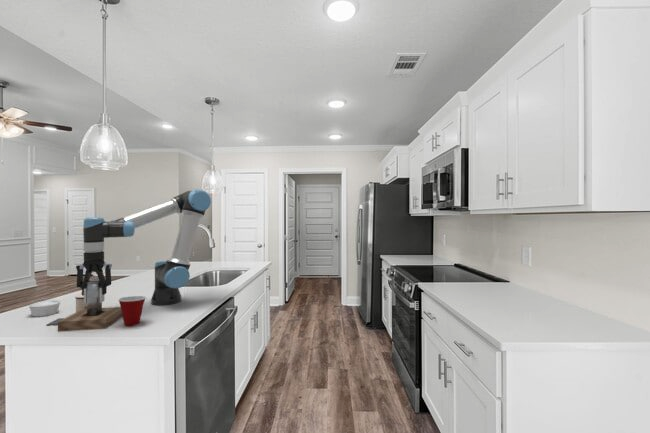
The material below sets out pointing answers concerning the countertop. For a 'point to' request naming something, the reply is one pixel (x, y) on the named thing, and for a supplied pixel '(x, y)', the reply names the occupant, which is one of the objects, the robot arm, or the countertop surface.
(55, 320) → the pad
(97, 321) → the frame
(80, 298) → the teacup with lid
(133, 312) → the plastic cup
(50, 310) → the ramekin
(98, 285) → the grey metal cylinder
